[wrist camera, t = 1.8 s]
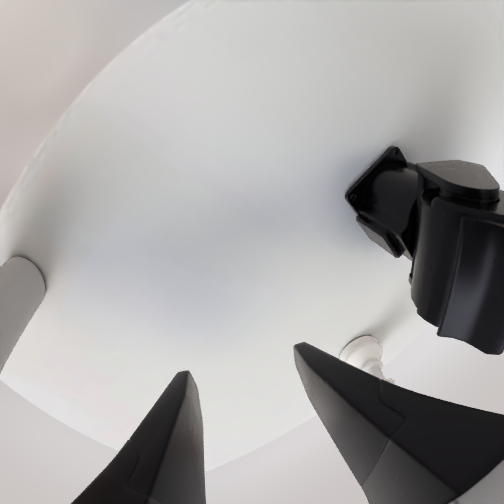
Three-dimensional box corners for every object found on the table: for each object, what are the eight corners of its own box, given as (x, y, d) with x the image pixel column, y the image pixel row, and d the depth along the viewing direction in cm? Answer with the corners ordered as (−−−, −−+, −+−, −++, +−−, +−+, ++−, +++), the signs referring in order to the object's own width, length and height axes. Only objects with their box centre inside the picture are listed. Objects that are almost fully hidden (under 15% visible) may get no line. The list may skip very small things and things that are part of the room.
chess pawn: (382, 333, 30) (425, 387, 22) (366, 365, 31) (401, 418, 23) (348, 335, 28) (389, 397, 20) (332, 369, 30) (365, 429, 22)
